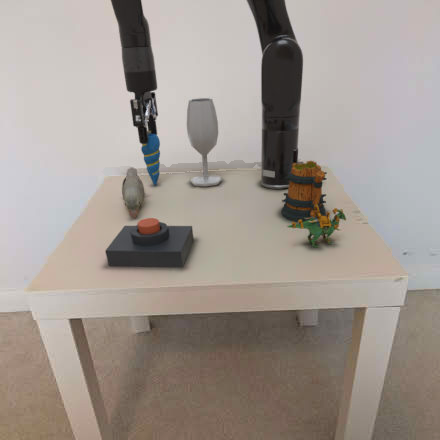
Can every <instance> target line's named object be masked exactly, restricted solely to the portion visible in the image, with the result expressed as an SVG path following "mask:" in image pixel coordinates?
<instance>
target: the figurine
mask: <svg viewBox="0 0 440 440" xmlns="http://www.w3.org/2000/svg"><path fill="white" fill-rule="evenodd" d="M316 208H317V210H316ZM314 209H315V211H313V212H314V214H315V215H316V216H315V217H310V218H305V219H310V220H308V221H305V222H302V220H299V221H298V222H297V223H296V222H295V221H292V222H291V224H289V225H287V226H286V228H290V229H303V230H304V229H305V230H308V232H309V234H308V235H307V240H308V242H307V243H308V245H309V244H311V248H313V247H314V248H319V245H318V244H316V243H315V242H316V241H317V240H319V239H320V238H321V236H322V238H323V239H324V241H325V242H326V243H327V244H328V245H333V242H332V241H330V237H331V236H332V234H333V233H334V232H335V231H342V230H343V228H342V229H341V228H339V227H340V221H341V220H343V221H346V220H347V218H346V214H345V212H344V209H342V208H341V209H338V207H334V208H333V209H332V210H331V211H332V213H333V215H334V216H333V218H332V220H331V218H330V215H331V212H330V211H326V212H325V216H321V214H320V213H319V207H318V205H316V204H315V205H314Z"/></svg>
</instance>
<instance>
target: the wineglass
mask: <svg viewBox="0 0 440 440" xmlns="http://www.w3.org/2000/svg"><path fill="white" fill-rule="evenodd" d="M213 100H214V99H213V98H210V97H197V98H196V97H195V98H191V99H188V103H187V109H186V133H187V138H188V141H189V144H190V146H191V147H192V148H193V149H195V151H196V152H197V153H199V154H200V155H201V161H202V162H201V163H202V174H199V175H195V176H194V177H192V178H191V179H190V183H191V184H192V185H193V187H211V186H217V185H219V184H220V183H221V182H222V177H221V176H220V175H218V174H209V166H208V154H209V153H210V152H212V150H213V149H214V148H215V147H216V146H217V143H218V138H219V122H218V117H217V115H218V114H217V110H216V107H215V103H214V101H213Z"/></svg>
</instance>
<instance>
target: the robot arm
mask: <svg viewBox="0 0 440 440" xmlns="http://www.w3.org/2000/svg"><path fill="white" fill-rule="evenodd" d="M245 1H246V3H247V5H248V8H249V10H250V12H251V14H252V17H253V20H254V22H255V23H254V24H255V27H256V30H257V34H258V39H259V45H260V50H261V63H260V65H261V67H260V83H261V84H260V94H261V96H260V104H261V105H260V106H261V153H260V154H261V155H260V156H261V159H260V160H261V162H260V163H261V165H260V167H261V168H260V169H261V171H260V172H261V173H260V185H261V186H262V187H264V188H267V189H271V190H272V189H273V190H282V189H288V188H289V182H290V180H287V179H284V178H285V177H288V175H289V174H287V173H286V172H291V169H292V164H293V163H298V164H302V163H304V161H298V160H299V133H300V132H299V131H300V114H301V102H302V90H303V89H302V88H303V73H304V54H303V50H302V48H301V46H300V44H299V42H298V40H297V37H296V35H295V32H294V29H293V26H292V23H291V19H290V17H289V13H288V9H287V5H286V0H245ZM110 3H111V7H112V10H113V13H114V16H115V19H116V22H117V26H118V34H119V41H120V47H121V61H122V69H123V74H124V81H125V87H126V91H127V92H128V93H133V94H134V98H132V99H131V98H130V100H129V104H130V110H131V117H132V125H133V127H135V128H136V129H137V133H138V134H137V135H138V140H139V141H138V142H139V143H140V144H141V145H142V144H144V143H148V142H149V139H148V132H147V131H151V134H156V135H157V136H158V128H157V117H158V116H159V112H158V105H157V98H156V97H157V96H156V92H155V91H157V89H158V82H157V81H158V79H157V72H156V64H155V56H154V52H153V47H152V37H151V30H150V24H149V21H148V19H147V17H146V16H145V14H144V8H143V3H142V0H110ZM149 128H150V129H149Z"/></svg>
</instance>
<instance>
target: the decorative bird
mask: <svg viewBox="0 0 440 440" xmlns="http://www.w3.org/2000/svg"><path fill="white" fill-rule="evenodd" d="M121 195H122V199H123V202H124V205H125V207H126V209H127V211H128V213H129V215H131V217H132V218H133V219H136V218H137V215H138V213H139V210H140V205H142V203H143V202H144V201H145V196H146V192H145V186H144V184H143V181H142V179H141V178H140V176H139V175H138V169H137V168H134V167H133V166H131V167H129V168H128V169H127V170H126V175H125V177H124V178H123V180H122V185H121Z"/></svg>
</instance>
